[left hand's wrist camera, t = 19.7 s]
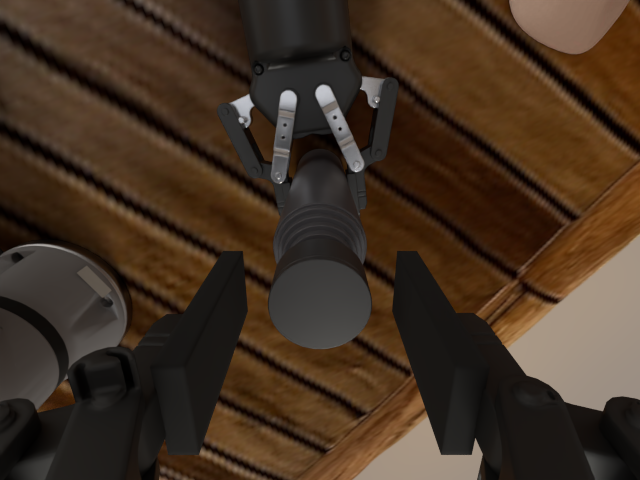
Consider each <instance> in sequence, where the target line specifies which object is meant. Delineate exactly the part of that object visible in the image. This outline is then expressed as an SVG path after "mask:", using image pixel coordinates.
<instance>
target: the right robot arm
mask: <svg viewBox="0 0 640 480" xmlns="http://www.w3.org/2000/svg"><path fill="white" fill-rule="evenodd" d="M238 2H239V7H240V12H241V18H242V23H243V28H244V33H245V38H246V44H247V49H248V54H249V59H250V64H251V70H252V82H251V86H250V89H249V94H248V95H246V96H244V97H242V98H240V99H238V100H236V101H234V102H231V103H222V104H220V105H219V106H218V109H217V113H218V116H219V118H220V120H221V122H222V124H223V126H224V128H225V130H226V132H227V134H228V136H229V138H230V140H231V142H232V144H233V146H234V148H235V150H236V152H237V153H238V155H239V157H240V159H241V161H242V163H243V165H244V167H245V169H246V171H247V173H248V175H249V176H250V177H252V178H262V179H267V180H269V181H270V182H272V184H273V186H274V190H275V195H276V200H277V205H278V211H279V215H280V216H281V214H282V211H283V208H284V205H285V202H286V199H287V196H288V193H289V190H290V187H291V184H292V177H289V174H288V171H289V164H290V158H291V152H292V147H293V140H294V139H298V138H303V137H305V136H308V135H310V134H320V135H325V134H332V132H333V134H334V136H335V138H336V140H337V142H338V144H339V146H340V149H341V151H342V153H343V155H344V157H345V159H346V161H347V169H346V170H345V172H346V178H347V181H348V184H349V187H350V190H351V193H352V196H353V199H354V202H355V205H356V208H357V211H358V214H359V216H360V209H365V207H366V204H367V198H366V188H365V178H364V171H365V169H366V167H367V166H368V165H370V164H372V163H373V162H375V161H381V160H383V159H384V158H385V156H386V153H387V148H388V142H389V137H390V131H391V126H392V121H393V115H394V110H395V104H396V99H397V93H398V88H399V84H398V81H397V80H396V79H395V78H385V79H379V78H372V77H364V76H362V74H361V72H360V70H359V69H358V67H357V66H356V64H355V61H354V58H353V52H352V42H351V32H350V22H349V12H348V2H347V0H238ZM360 90H362V91H363V92H364V93H365V94H366V102H367V104H368V105H369V106H370V107H372V108H374V110H373V116H372V122H371V128H370V134H369V141H368V145H367V146H365V147H363V148H361V149H360V150H358V147H357V145H356V143H355V141H354V138H353V136H352V134H351V132H350V129H349V127H348V125H347V123H346V121H345V118H346V116H347V114H348V112H349V110H350V108H351V106H352V104H353V102H354V101H355V99H356V97H357V95H358V93H359V91H360ZM254 107H256V108H257V109H258V110H259V111H260V112H261V113H262V114H263V115H264V116H265V117H266V118H267V119H268V120H269V121H270V122H271V123H272V124H273V125H274V126H275V127H276V135H275V143H274V155H273V162H269V161H265V160H264V158H263V156H262V154H261V152H260V150H259V148H258V146H257V144H256V142H255V140H254V137H253V135H252V133H251V131H250V129H249V126H250V125H251V124H252V123H253V117H252V110H253V108H254Z"/></svg>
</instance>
